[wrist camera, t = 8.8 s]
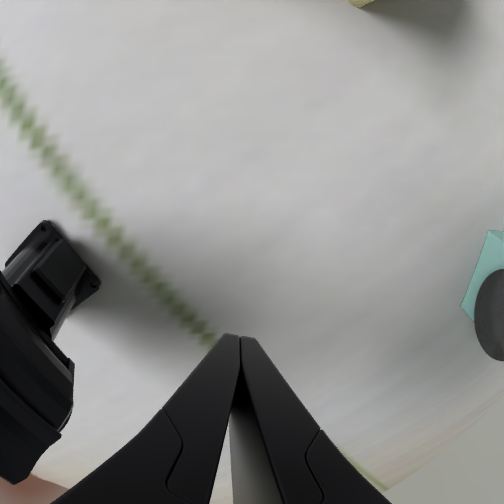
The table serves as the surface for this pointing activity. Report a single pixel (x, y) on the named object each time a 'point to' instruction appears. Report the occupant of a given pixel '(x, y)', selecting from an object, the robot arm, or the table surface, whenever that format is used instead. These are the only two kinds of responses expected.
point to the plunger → (491, 315)
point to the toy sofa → (359, 2)
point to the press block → (485, 268)
